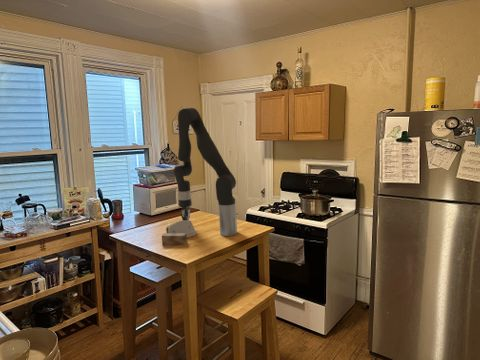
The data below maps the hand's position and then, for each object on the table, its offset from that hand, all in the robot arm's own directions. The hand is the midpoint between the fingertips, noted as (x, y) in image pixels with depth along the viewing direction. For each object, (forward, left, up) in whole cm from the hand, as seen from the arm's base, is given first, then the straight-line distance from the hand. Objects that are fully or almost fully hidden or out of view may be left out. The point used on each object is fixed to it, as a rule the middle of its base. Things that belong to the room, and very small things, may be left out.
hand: (186, 226), depth 193 cm
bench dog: (0, +25, -2) cm, 25 cm away
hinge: (0, +13, -2) cm, 13 cm away
